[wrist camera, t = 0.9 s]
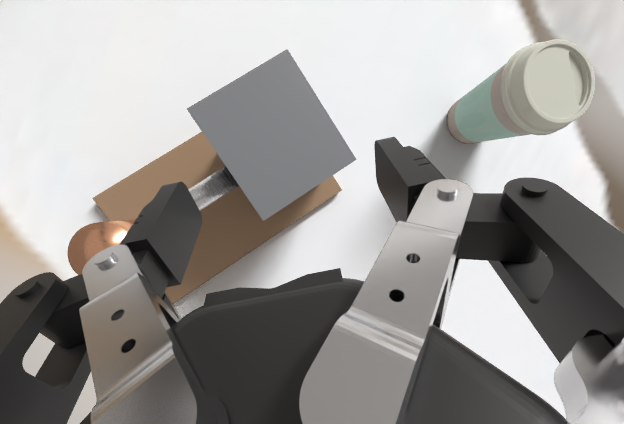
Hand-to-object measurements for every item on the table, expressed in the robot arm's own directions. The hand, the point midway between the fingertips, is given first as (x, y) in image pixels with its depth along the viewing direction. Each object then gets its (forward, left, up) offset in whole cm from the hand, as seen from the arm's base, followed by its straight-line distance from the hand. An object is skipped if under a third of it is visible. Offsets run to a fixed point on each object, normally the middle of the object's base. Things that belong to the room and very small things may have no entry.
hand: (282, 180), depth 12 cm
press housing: (-5, -3, -22) cm, 23 cm away
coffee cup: (+16, +22, -22) cm, 35 cm away
